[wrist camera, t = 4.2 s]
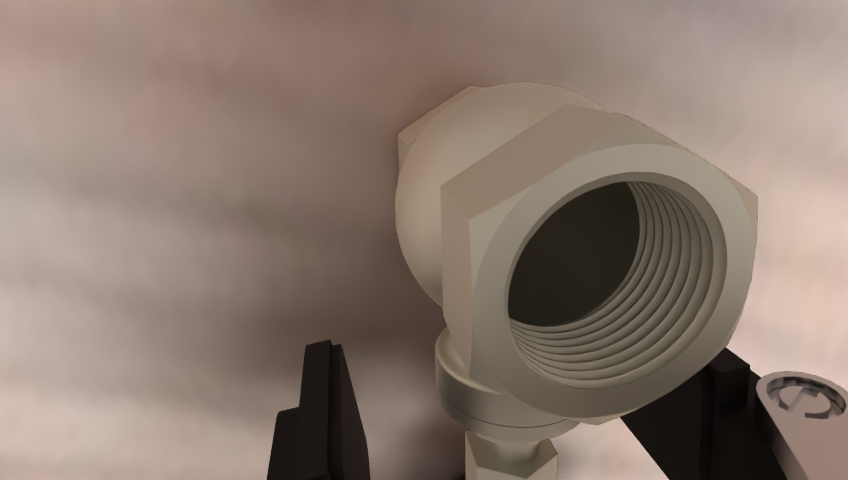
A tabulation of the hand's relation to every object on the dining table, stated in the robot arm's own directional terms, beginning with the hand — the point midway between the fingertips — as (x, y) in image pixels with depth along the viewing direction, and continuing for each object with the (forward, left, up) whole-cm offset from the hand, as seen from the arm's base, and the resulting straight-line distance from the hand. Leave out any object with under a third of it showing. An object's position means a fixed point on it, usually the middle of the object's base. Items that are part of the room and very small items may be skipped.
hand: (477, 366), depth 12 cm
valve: (0, 0, -2) cm, 2 cm away
